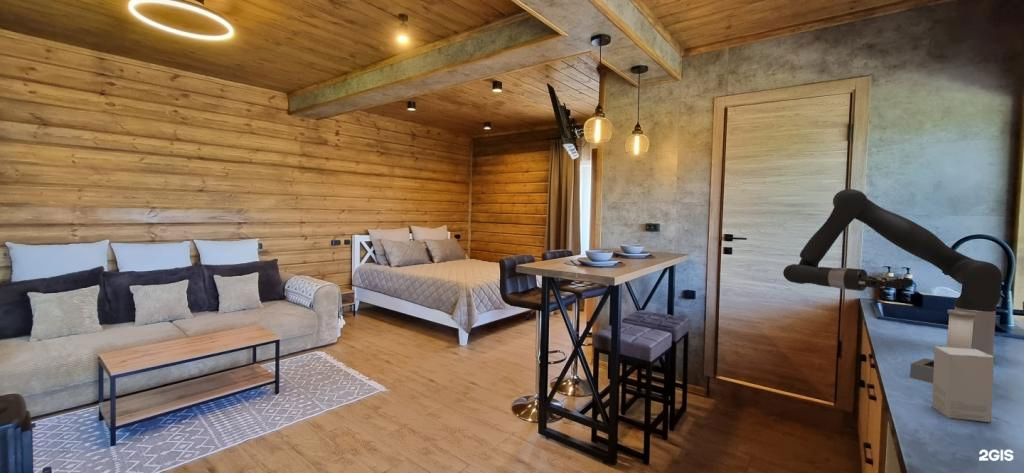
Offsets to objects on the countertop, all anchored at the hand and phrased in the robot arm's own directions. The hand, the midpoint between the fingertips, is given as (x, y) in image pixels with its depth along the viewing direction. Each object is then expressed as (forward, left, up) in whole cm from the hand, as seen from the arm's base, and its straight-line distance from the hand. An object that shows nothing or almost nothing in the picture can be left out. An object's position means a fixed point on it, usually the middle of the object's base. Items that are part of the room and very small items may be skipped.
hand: (906, 284), depth 136 cm
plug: (0, +13, -24) cm, 27 cm away
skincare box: (+35, +22, -26) cm, 49 cm away
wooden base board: (+7, +13, -26) cm, 29 cm away
